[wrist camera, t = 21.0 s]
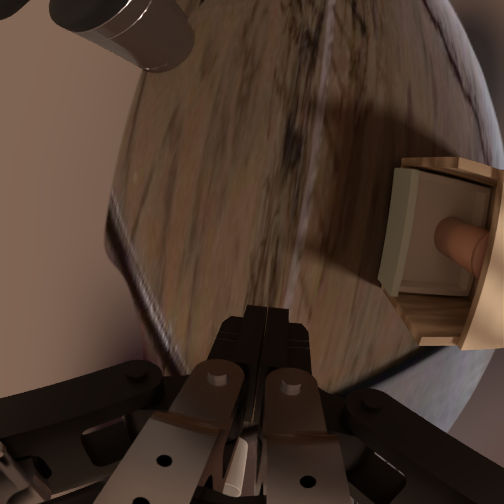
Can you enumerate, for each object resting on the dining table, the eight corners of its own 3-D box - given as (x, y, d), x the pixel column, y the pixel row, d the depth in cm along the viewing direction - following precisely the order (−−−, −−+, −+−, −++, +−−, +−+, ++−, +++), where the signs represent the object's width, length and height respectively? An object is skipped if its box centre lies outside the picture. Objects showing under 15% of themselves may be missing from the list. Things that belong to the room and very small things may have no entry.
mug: (249, 435, 51) (240, 484, 39) (249, 454, 53) (241, 500, 41) (198, 430, 52) (182, 475, 40) (202, 448, 54) (188, 492, 42)
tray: (394, 167, 35) (411, 168, 29) (474, 185, 34) (497, 190, 28) (377, 278, 39) (390, 296, 33) (455, 285, 38) (474, 301, 32)
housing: (401, 157, 35) (464, 157, 20) (481, 177, 34) (555, 190, 18) (381, 288, 40) (422, 351, 25) (459, 294, 39) (514, 346, 23)
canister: (437, 211, 34) (482, 229, 24) (468, 219, 33) (515, 237, 23) (428, 253, 35) (468, 282, 25) (460, 258, 35) (502, 286, 25)
